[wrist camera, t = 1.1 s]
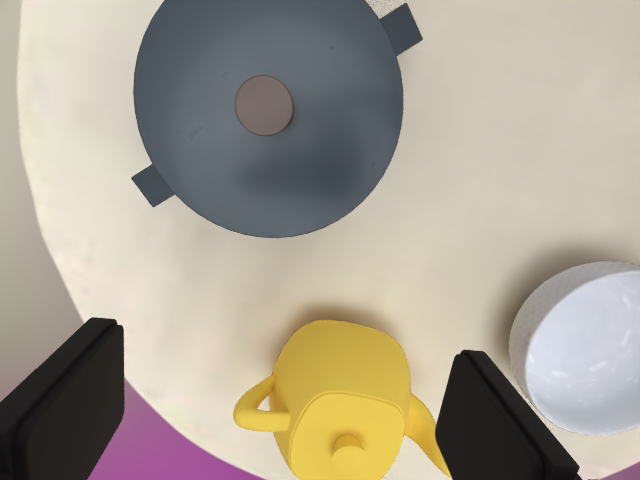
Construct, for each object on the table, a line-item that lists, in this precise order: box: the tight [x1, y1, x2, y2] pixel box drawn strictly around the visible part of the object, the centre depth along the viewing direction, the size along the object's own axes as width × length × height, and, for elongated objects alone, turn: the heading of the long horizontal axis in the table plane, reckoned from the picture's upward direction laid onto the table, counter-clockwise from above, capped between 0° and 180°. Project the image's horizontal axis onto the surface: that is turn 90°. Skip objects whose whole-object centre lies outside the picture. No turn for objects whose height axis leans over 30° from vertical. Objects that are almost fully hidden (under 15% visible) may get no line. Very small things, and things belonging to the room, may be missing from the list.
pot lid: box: [133, 0, 403, 238], centre depth 22 cm, size 17×17×7 cm
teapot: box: [233, 320, 452, 480], centre depth 35 cm, size 13×20×12 cm
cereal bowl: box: [509, 261, 640, 435], centre depth 37 cm, size 17×17×7 cm
